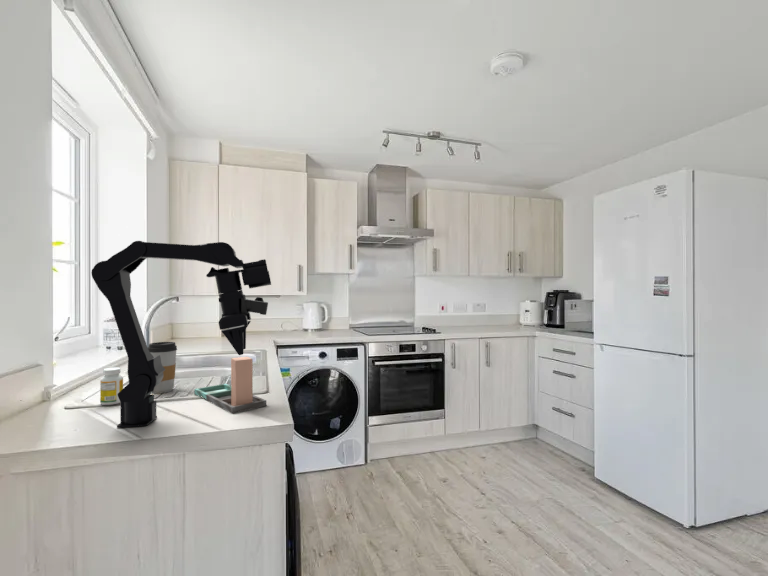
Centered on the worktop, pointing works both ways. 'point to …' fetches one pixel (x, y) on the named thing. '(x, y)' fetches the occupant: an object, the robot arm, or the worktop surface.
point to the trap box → (227, 398)
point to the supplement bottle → (110, 386)
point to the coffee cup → (165, 364)
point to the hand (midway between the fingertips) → (242, 351)
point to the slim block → (241, 381)
